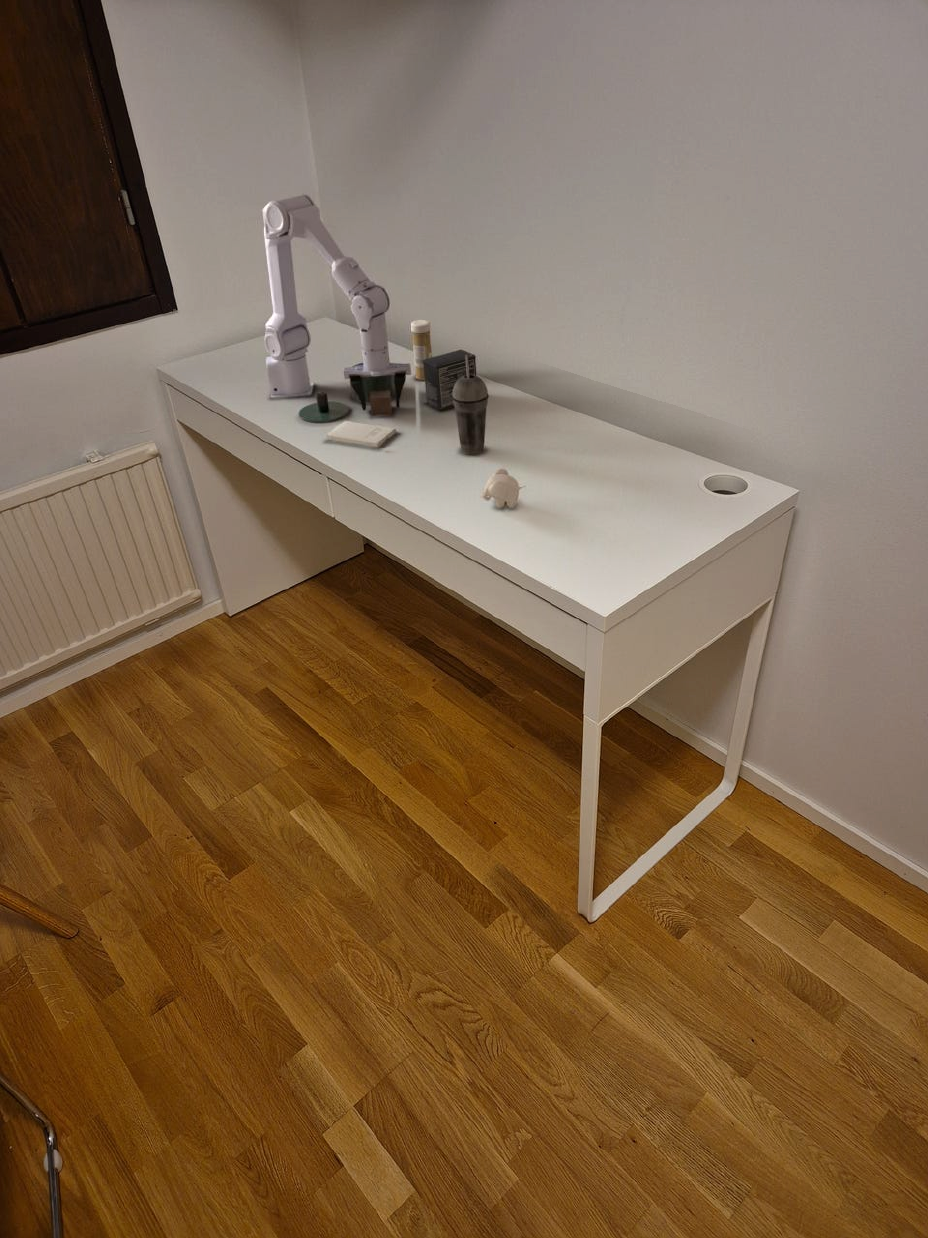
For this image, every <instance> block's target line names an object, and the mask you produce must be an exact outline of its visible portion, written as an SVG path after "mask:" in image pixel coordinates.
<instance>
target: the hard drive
mask: <svg viewBox="0 0 928 1238" xmlns="http://www.w3.org/2000/svg"><path fill="white" fill-rule="evenodd" d="M396 433H397V428H394V427H387V426H383V425H376V424H375V425H374V424H370V423H369V424H368V423H364V422H363V423H362V422H356V421H349V420H343V422H341V423H340V424H338V425H337V426H335V428H333V429H332V430H330V431H329V432H327V433H326V435H325V438H326V441H327V440H328V441H334V442H335V441H336V442H341V443H348V444H354V445H355V444H356V445H359V446H366V447H367V446H368V447H372V448H376V449H378V450H379V449H380V448H381V445H382V444H383V443H385V442H386V440H388V439H390V438H391V437H392V436H393V435H394V434H396Z"/></svg>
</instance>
